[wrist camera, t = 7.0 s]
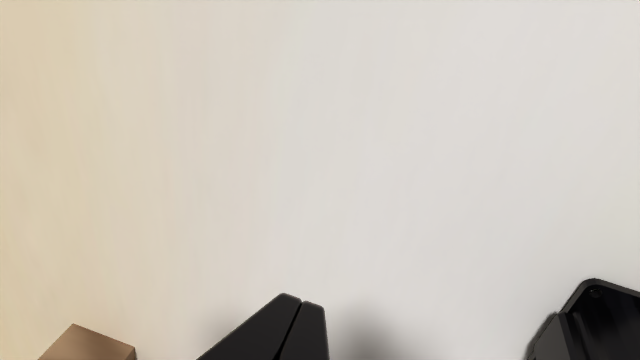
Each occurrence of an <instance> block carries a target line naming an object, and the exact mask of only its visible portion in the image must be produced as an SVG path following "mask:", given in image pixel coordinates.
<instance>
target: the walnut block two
mask: <svg viewBox="0 0 640 360" xmlns="http://www.w3.org/2000/svg"><path fill="white" fill-rule="evenodd" d="M38 360H135V347H133V346H131V345H128V344H125V343H123V342H120V341H118V340H115V339H112V338H110V337H107V336H104V335H102V334H99V333H97V332H94V331H91V330H89V329H86V328H84V327H81V326H78V325H76V324H72V325H71V326H70V327H69V328H68V329H67V330H66V331H65V332H64V333H63V334H62V335H61V336H60V337H59V338H58V339H57V340H56V341H55V342H54V343H53V344H52V345H51V346H50V348H49V349H48V350H47V351H46V352H45V353H44V354H43V355H42V356H41V357H40V358H39V359H38Z"/></svg>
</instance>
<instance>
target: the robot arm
mask: <svg viewBox="0 0 640 360" xmlns="http://www.w3.org/2000/svg"><path fill="white" fill-rule="evenodd" d="M592 289H599V290H597V291H594V292H593V291H591V290H592ZM196 360H330V358H329V349H328V339H327V330H326V320H325V311H324V308H323V307H322V306H320V305H317V304H314V303H311V302H308V301H304V302H302V301H301V299H300V298H297V297H294V296H292V295H289V294H286V293H281V294H279V295H278V296H277V297H275V298H274V299H273V300H272V301H270V302H269V303H268V304H266V305H265V306H264V307H263V308H261V309H260V310H259V311H258V312H256V313H255V314H254V315H252V316H251V317H250V318H249V319H247V320H246V321H245V322H244V323H242V324H241V325H240V326H238V327H237V328H236V329H235V330H233V331H232V332H231V333H230V334H228V335H227V336H226V337H224V338H223V339H222V340H221V341H219V342H218V343H217V344H216V345H214V346H213V347H212V348H210V349H209V350H208V351H207V352H205V353H204V354H203V355H202V356H200V357H199V358H198V359H196ZM527 360H640V292H638V291H635V290H632V289H628V288H625V287H622V286H619V285H616V284H613V283H610V282H607V281H604V280H601V279H596V278H592V279H588V280H585V281H584V282H583V283H582V284H581V285H580V287H579V288H578V290H577V291H576V292H575V294H574V295H573V297H572V298H571V299H570V301H569V302H568V304H567V305H566V306H565V308H564V309H563V311H561V312H559V313H558V314H556V316H555V317H554V318H553V320H552V321H551V323H550V324H549V325H548V327H547V328H546V330H545V331H544V332H543V334H542V335H541V337H540V338H539V339H538V341H537V342H536V344H535V345H534V351H533V352H532V354H531V355H530V357H529V358H528V359H527Z"/></svg>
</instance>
